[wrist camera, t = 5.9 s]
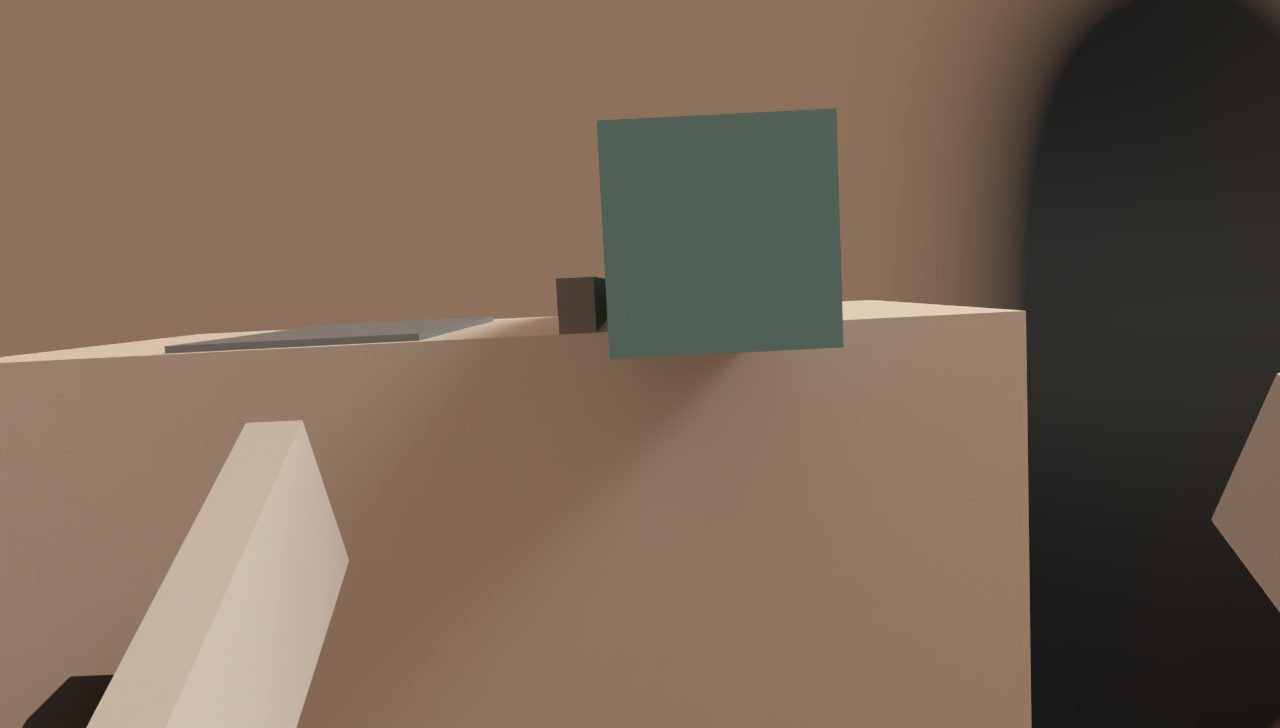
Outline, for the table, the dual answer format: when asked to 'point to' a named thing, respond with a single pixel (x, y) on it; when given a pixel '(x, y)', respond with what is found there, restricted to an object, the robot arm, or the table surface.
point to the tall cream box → (561, 517)
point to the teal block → (721, 233)
